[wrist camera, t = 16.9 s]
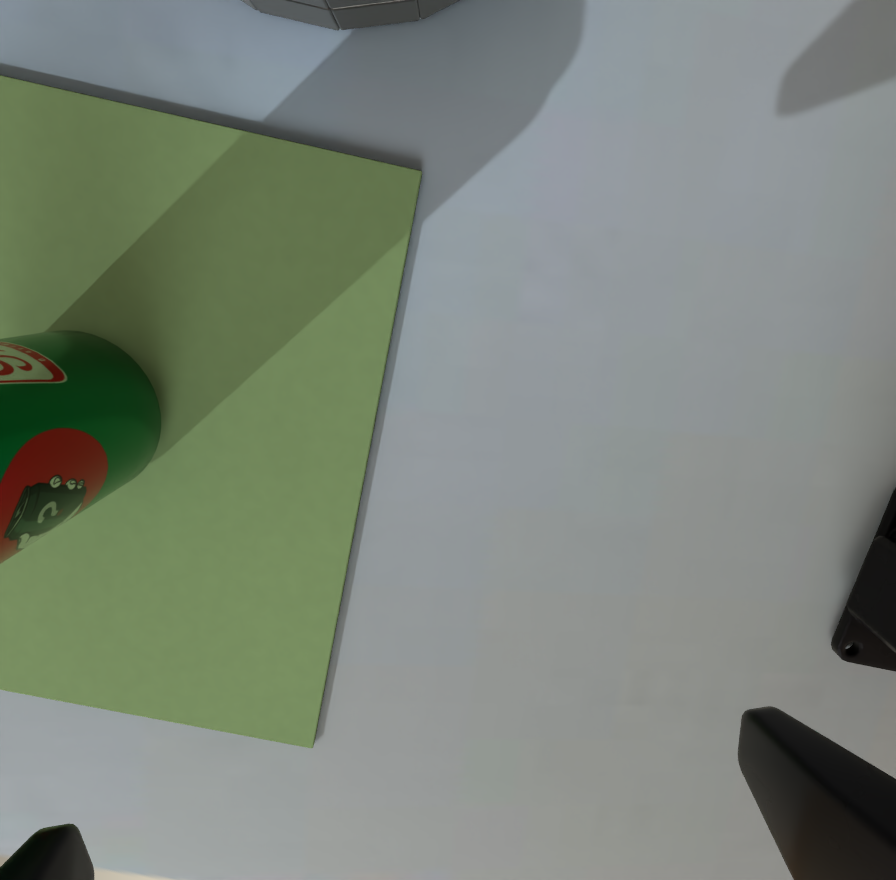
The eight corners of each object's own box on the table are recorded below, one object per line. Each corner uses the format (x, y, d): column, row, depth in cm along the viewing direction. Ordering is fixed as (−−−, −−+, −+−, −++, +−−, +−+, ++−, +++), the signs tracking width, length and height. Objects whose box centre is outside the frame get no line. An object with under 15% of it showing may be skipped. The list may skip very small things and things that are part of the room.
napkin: (422, 172, 19) (421, 170, 18) (314, 742, 24) (312, 749, 23) (-286, 11, 18) (-298, 7, 17) (-242, 638, 23) (-251, 642, 22)
